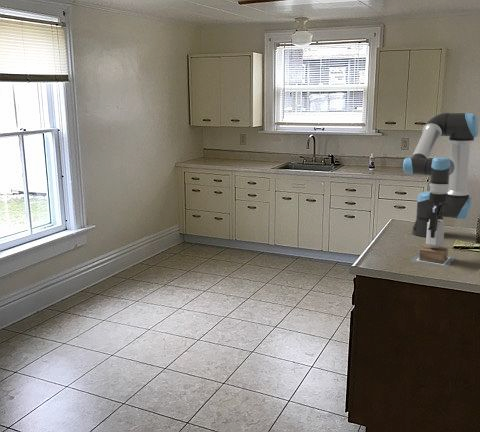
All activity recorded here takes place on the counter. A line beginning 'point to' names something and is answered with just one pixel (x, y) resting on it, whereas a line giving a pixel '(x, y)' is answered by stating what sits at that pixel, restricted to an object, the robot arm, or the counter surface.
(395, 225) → the counter surface
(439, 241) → the can
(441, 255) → the walnut block
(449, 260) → the grey flat plate
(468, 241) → the counter surface
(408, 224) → the counter surface
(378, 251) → the counter surface
